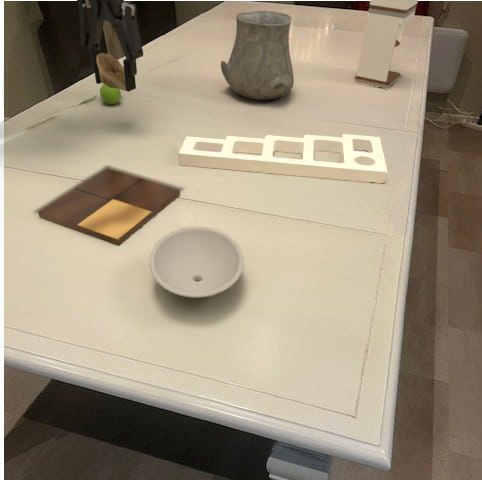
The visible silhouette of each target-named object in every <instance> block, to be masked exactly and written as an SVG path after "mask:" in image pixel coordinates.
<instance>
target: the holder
mask: <svg viewBox="0 0 482 480" xmlns="http://www.w3.org/2000/svg"><path fill="white" fill-rule="evenodd" d="M361 150H366V151H361ZM315 151H316V152H327V153H328V152H329V153H338V154H340V162H330V161H321V160H315V159H314V152H315ZM367 151H368V152H367ZM275 152H281V153H290V154H291V153H293V154H300V155H301V159H300V158H299V159H298V158H296V159H295V158H287V157H275V156H274V153H275ZM242 153H243V154H242ZM251 154H252V155H251ZM253 154H256V155H253ZM178 163H179V164H178V165H179V166H186V167H197V168H208V169H217V170H219V169H221V170H229V171H238V172H239V171H242V172H251V173H252V172H253V173H263V174H264V173H265V174H273V175H275V174H276V175H283V176H294V177H295V176H296V177H305V178H315V179H316V178H317V179H327V180H337V181H338V180H340V181H350V182H359V181H360V183H370V182H375V183H374V184H381V183H384V184H385V182H386V179H387V175H388V167H387V163H386V159H385V155H384V150H383V146H382V140H381V138H380V137H379V136H372V135H360V134H350V133H349V134H348V133H342V134H341V137H339V136H329V135H328V136H327V135H314V134H303V137H293V136H283V135H281V136H280V135H271V134H267V135H265V136H264V138H258V137H246V136H235V135H226V136H225V139H221V138H213V137H212V138H210V137H201V136H200V137H199V136H189V135H188V136H185V139H184V141H183V143H182V145H181V147H180V148H179V151H178Z"/></svg>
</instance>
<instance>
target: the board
mask: <svg viewBox="0 0 482 480" xmlns="http://www.w3.org/2000/svg"><path fill="white" fill-rule="evenodd" d="M180 196H181V190H180V189H178V188H175V187H172V186H169V185H165V184H162V183H159V182H155V181H151V180H149V179H145V178H141V177H138V176H135V175H131V174H129V173H125V172H122V171H118V170H115V169H112V168H109V167H106V168H105V169H103V170H101V171H100V172H98V173H97V174H95V175H94V176H92V177H90V178H89V179H87V180H85V181H84V182H82V183H81V184H79V185H77V186H76V187H74V188H73V189H72V190H70V191H68V192H67V193H65V194H64V195H62V196H60V197H59V198H57V199H56V200H54V201H53V202H51V203H50V204H48V205H46V206H45V207H43V208H41V209H40V210H39V211H37V213H38V217H39V218H41V219H44V220H46V221H49V222H52V223H55V224H57V225H60V226H63V227H65V228H69V229H71V230H74V231H77V232H80V233H83V234H86V235H88V236H91V237H94V238H97V239H99V240H102V241H105V242H108V243H111V244H113V245H116V246H120V245H121V244H122V243H123V242H125V241H126V240H127V239H129V238H130V237H131V236H133V234H135V233H136V232H137V231H138V230H139V229H141V228H142V227H143V226H144V225H145V224H147V223H148V222H149V221H150V220H151V219H153V218H154V217H155V216H156V215H158V214H159V213H160V212H161V211H162V210H164V209H165V208H166V207H167V206H169V205H170V204H171V203H173V201H174V200H176V199H177V198H178V197H180Z"/></svg>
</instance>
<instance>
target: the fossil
mask: <svg viewBox="0 0 482 480" xmlns="http://www.w3.org/2000/svg"><path fill="white" fill-rule="evenodd" d="M96 62H97V65H98V69H99V76H100V80H101V82H102V83H101V84H106V85H107V86H108V87H110V88H117V89H120V91H125V92H127V91H126V83H125V74H124V65H123V64H122V63H121V62H120V60H118V59H117V58H115V57H114V56H112V54H110V53H104V52H102V53H100V54H98V55H97V57H96Z"/></svg>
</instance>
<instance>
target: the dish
mask: <svg viewBox="0 0 482 480" xmlns="http://www.w3.org/2000/svg"><path fill="white" fill-rule="evenodd" d="M148 260H149V263H148V264H149V270H150V273H151V275H152V276H153V278H154V280H155V282H156V283H157V284H158V285H159V286H161V288H163V289H164V290H166V291H167V292H169V293H171V294H174V295H177V296H180V297H185V298H193V299H194V298H195V299H197V298H198V299H199V298H200V299H201V298H209V297H212V296H216V295H219V294H221V293H223V292H224V291H228V289H230V288H231V287H232V286H233V285H234V284H236V282H237V281H238V280H239V279H240V277H241V275H242V273H243V270H244V265H245V257H244V254H243V250H242V248H241V246H240V245H239V243H238V242H237V241H236V240H235V239H234V238H233V237H232V236H230V235H229V234H228V233H226V232H225V231H224V232H223V231H222V230H220V229H217V228H213V227H209V226H203V225H202V226H200V225H193V226H186V227H180V228H178V229H175V230H172V231H170V232H168V233H167V234H165V235H163V236H162V237H161V238H160V239H159V240H158V241H157V242H156V243H155V245H154V246H153V248H152V250H151V252H150V255H149V259H148Z"/></svg>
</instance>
